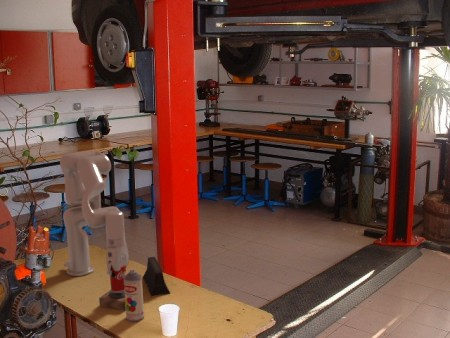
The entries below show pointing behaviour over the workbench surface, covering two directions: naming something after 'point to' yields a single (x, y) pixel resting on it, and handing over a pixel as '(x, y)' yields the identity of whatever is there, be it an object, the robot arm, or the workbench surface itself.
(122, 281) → the beverage can
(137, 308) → the aerosol can
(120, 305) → the walnut plinth
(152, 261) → the barrier
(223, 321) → the workbench surface
